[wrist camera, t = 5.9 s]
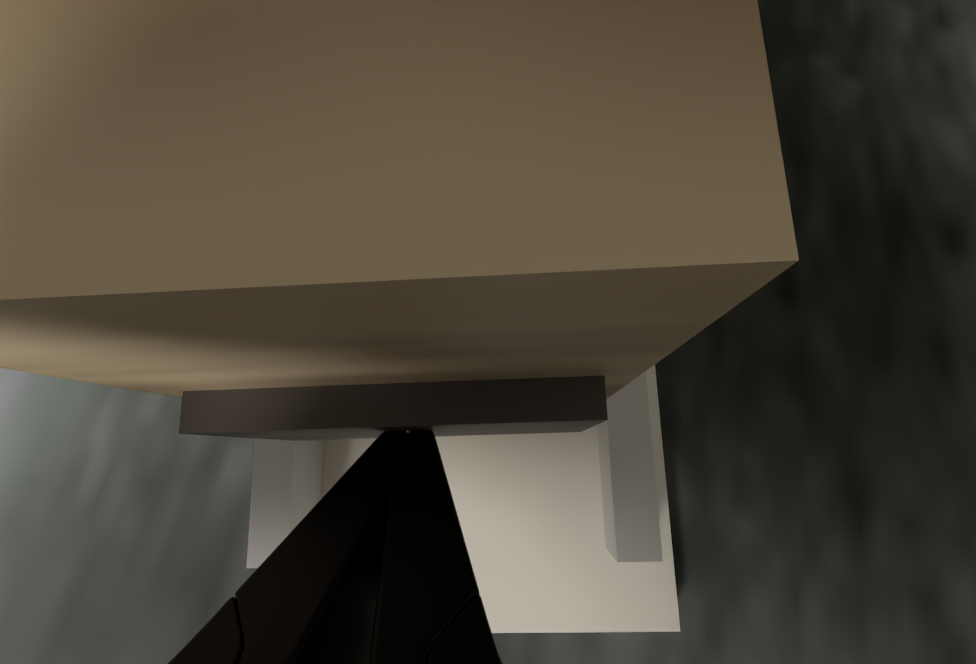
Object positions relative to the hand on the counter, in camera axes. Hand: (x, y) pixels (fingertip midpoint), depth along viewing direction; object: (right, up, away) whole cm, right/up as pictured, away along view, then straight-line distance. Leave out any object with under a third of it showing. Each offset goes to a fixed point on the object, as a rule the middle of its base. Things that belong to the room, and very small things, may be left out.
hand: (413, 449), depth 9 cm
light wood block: (0, +1, +6) cm, 6 cm away
